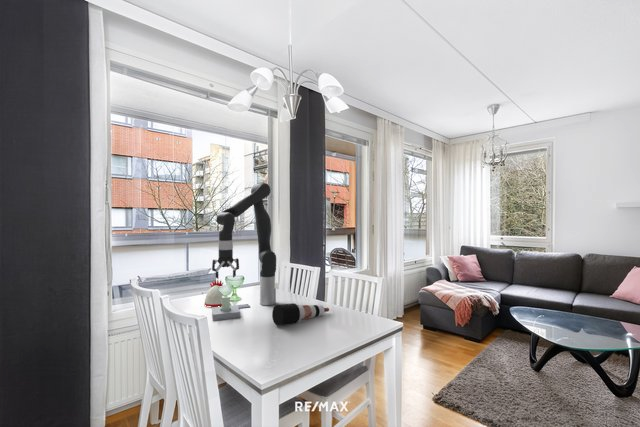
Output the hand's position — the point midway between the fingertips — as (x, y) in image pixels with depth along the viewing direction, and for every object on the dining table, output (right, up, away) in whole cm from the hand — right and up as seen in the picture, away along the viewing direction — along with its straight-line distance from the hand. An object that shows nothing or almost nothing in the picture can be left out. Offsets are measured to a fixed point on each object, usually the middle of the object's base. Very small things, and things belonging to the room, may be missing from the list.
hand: (225, 277), depth 173 cm
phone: (+3, -21, +14) cm, 26 cm away
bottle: (+44, -21, -8) cm, 49 cm away
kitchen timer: (-12, -21, +21) cm, 32 cm away
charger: (0, -20, -1) cm, 20 cm away
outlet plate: (0, -20, -1) cm, 20 cm away
